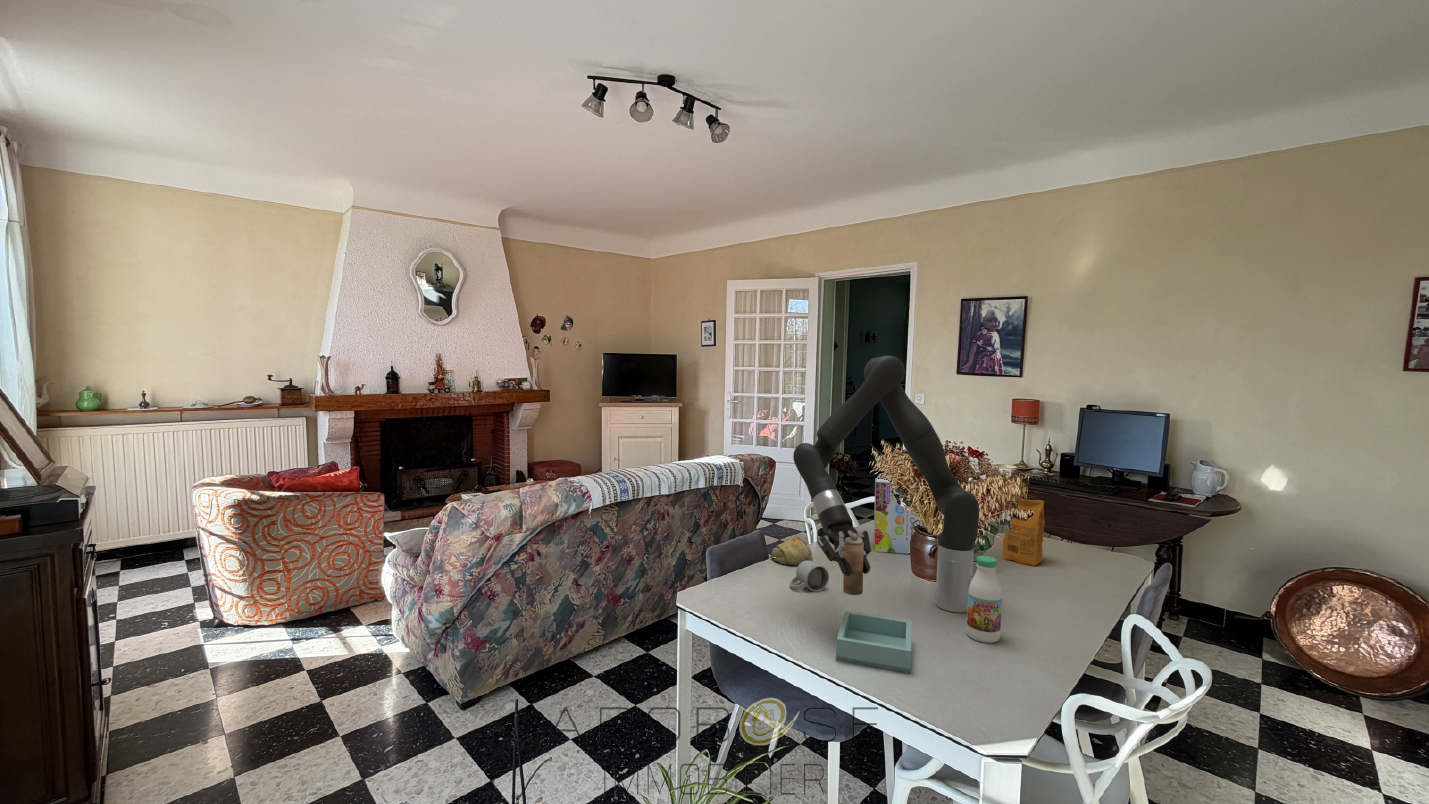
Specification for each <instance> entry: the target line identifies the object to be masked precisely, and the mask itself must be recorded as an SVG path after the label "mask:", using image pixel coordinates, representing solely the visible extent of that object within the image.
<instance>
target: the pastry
mask: <svg viewBox="0 0 1429 804" xmlns="http://www.w3.org/2000/svg"><path fill="white" fill-rule="evenodd" d="M770 557H771V558H773V557H776V558H774V559H772V560H773V561H775V562H777V563H779V564H781V565H783V564H784V565H785V566H798V565H799V564H800V563H801V562H803V561H813V562H814V558H813V552H812V550H811V548H810V546H809V545H808V542H806V541H805V540H803V539H802V538H800V537H799V536H794V537H792V538H790V539H787V540H786V541H784V542H782V543H780V544H777V545H776V547H774V548H772V551H771V553H770ZM784 565H783V566H784Z"/></svg>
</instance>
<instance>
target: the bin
mask: <svg viewBox="0 0 1429 804" xmlns="http://www.w3.org/2000/svg"><path fill="white" fill-rule="evenodd" d="M912 624H913V623H912V620H908V619H900V618H895V617H886V616H882V615H881V616H880V615H874V614H867V613H862V612H861V613H860V612H853V611H849V610H848V611H847V610H844V613H843V616H842V619H841V624H840V627H839V631H838V633H837V638H836V653H835V654H836V656H835V660H836V661H839V662H844V663H849V662H850V664H855V665H860V666H868V667H873V668H877V669H884V670H889V671H895V672H900V673H905V674H911V659H912Z"/></svg>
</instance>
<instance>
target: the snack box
mask: <svg viewBox="0 0 1429 804" xmlns="http://www.w3.org/2000/svg"><path fill="white" fill-rule="evenodd" d="M884 479H885V478H884ZM884 479H878V477H876V478H875V480H874V483H875V484H874V511H873V512H874V513H873V514H874V515H873V518H874V519H873V522H874V523H873V524H874V525H873V549H874V550H873V551H874V552H875V553H877V552H878V553H892V554H906V555H910V554H909V544H910V540H911V535H912V533H913V530H914V527H915V526H917V525H920V526H922V523H921V521H920V519H919V518H918V517H917V516H915V515H913V514H911V512H910V511H908V510H904V509H903V508H902V507H900V506H898V503H897V500H896V498H895V496H894V494H893V493H892V490H891V488H892V486H891V483H890V482H889V481H888V480H884Z"/></svg>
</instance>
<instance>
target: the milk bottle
mask: <svg viewBox="0 0 1429 804" xmlns="http://www.w3.org/2000/svg"><path fill="white" fill-rule="evenodd" d="M997 566H998V560H997V559H996V558H995V557H993V556H989V555H978V556H976V567H977V568H976V571H975V574H974V576H973V579H972V581H971V583H970V586H969V591H968V605H967V612H966V627H965V628H966V634H967V635H968V636H969V638H971V639H972V640H975V641H977V642H982V643H988V644H990V643H997V642H999V641H1000V639H1001V627H1002V612H1003V611H1002V610H1003V609H1002V606H1003V604H1002V603H1003V593H1002V591H1003V590H1002V587H1001V584H1000V582H999V579H998V577H997V572H996V570H997Z"/></svg>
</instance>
